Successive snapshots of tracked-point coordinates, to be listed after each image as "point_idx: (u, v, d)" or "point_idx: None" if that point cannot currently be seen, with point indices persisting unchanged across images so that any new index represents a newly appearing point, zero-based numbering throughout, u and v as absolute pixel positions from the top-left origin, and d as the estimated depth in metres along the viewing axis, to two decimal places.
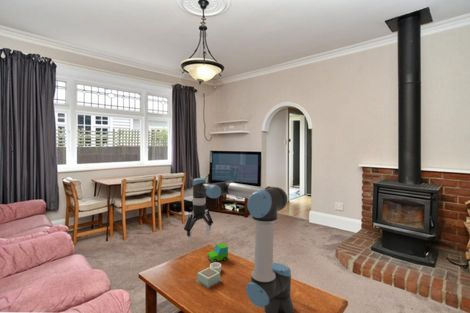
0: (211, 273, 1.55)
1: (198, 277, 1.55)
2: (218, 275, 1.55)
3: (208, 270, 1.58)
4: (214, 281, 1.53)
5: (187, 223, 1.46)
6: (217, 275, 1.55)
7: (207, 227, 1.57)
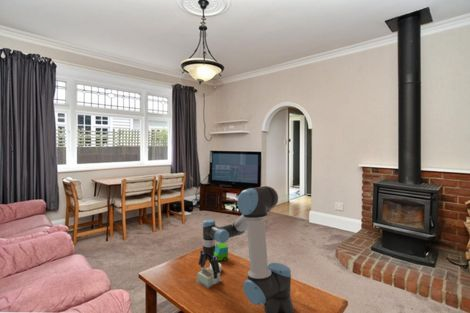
0: (211, 273, 1.55)
1: (198, 277, 1.55)
2: (218, 275, 1.55)
3: (208, 270, 1.58)
4: None
5: None
6: (217, 275, 1.55)
7: None
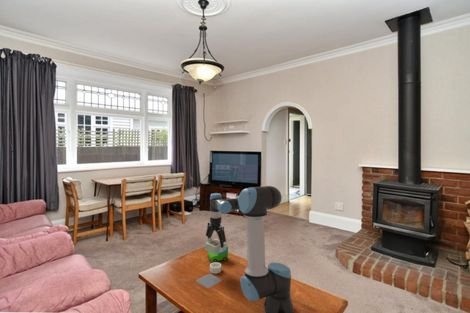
0: (218, 243, 1.66)
1: (205, 247, 1.66)
2: (224, 245, 1.66)
3: (215, 241, 1.69)
4: None
5: None
6: None
7: None
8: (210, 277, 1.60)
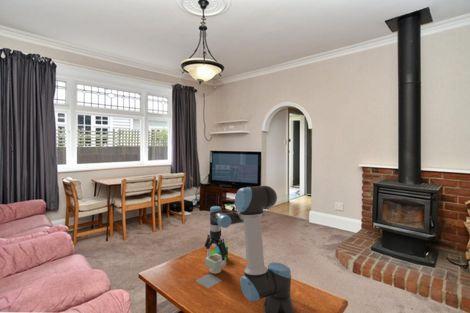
0: (218, 258, 1.66)
1: (205, 262, 1.67)
2: (224, 260, 1.67)
3: (215, 256, 1.70)
4: (220, 265, 1.65)
5: None
6: None
7: None
8: (210, 277, 1.60)
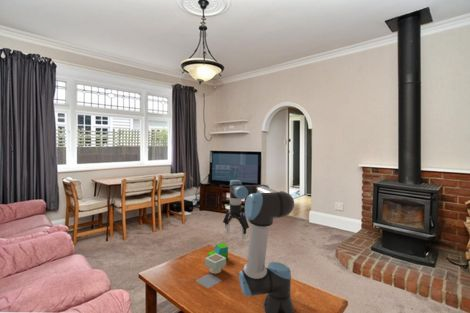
0: (218, 258, 1.66)
1: (205, 262, 1.67)
2: (224, 260, 1.67)
3: (215, 256, 1.70)
4: (220, 265, 1.65)
5: None
6: (223, 260, 1.66)
7: None
8: (210, 277, 1.60)
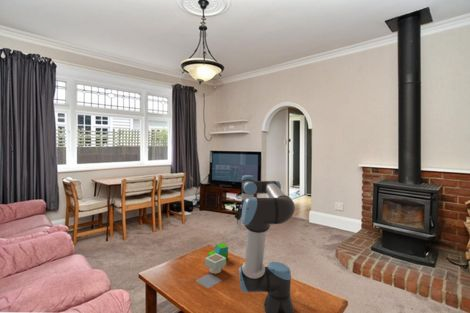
0: (218, 258, 1.66)
1: (205, 262, 1.67)
2: (224, 260, 1.67)
3: (215, 256, 1.70)
4: (220, 265, 1.65)
5: None
6: (223, 260, 1.66)
7: None
8: (210, 277, 1.60)
